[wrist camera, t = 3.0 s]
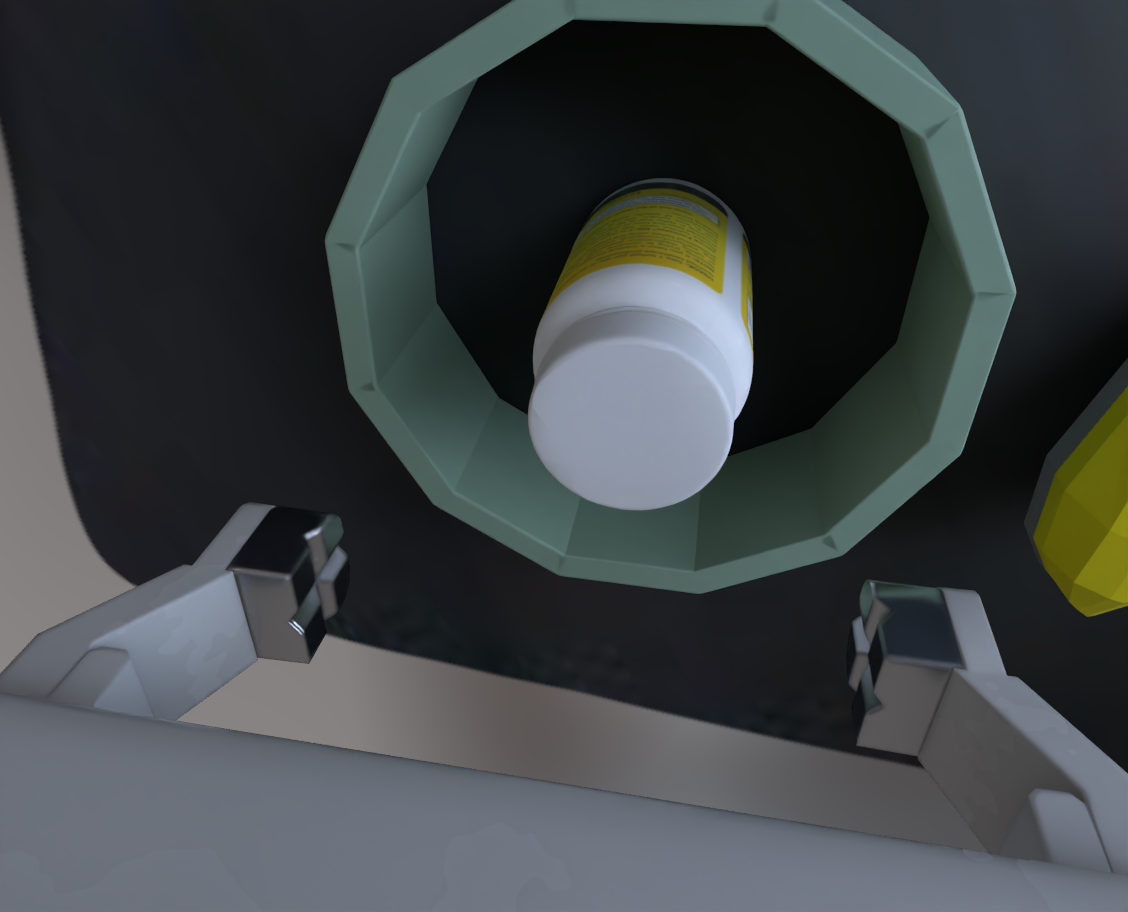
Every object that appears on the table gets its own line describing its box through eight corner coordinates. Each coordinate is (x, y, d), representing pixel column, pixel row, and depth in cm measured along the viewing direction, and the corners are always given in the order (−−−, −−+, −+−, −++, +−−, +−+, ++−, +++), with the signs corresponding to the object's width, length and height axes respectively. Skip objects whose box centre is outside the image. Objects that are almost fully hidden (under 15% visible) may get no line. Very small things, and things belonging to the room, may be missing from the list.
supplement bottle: (541, 240, 23) (456, 394, 16) (687, 135, 21) (657, 265, 14) (642, 369, 25) (603, 558, 18) (785, 286, 23) (802, 466, 16)
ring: (374, -58, 20) (278, -39, 16) (1037, -42, 18) (1123, -16, 14) (427, 454, 28) (373, 552, 24) (880, 505, 26) (905, 621, 22)
